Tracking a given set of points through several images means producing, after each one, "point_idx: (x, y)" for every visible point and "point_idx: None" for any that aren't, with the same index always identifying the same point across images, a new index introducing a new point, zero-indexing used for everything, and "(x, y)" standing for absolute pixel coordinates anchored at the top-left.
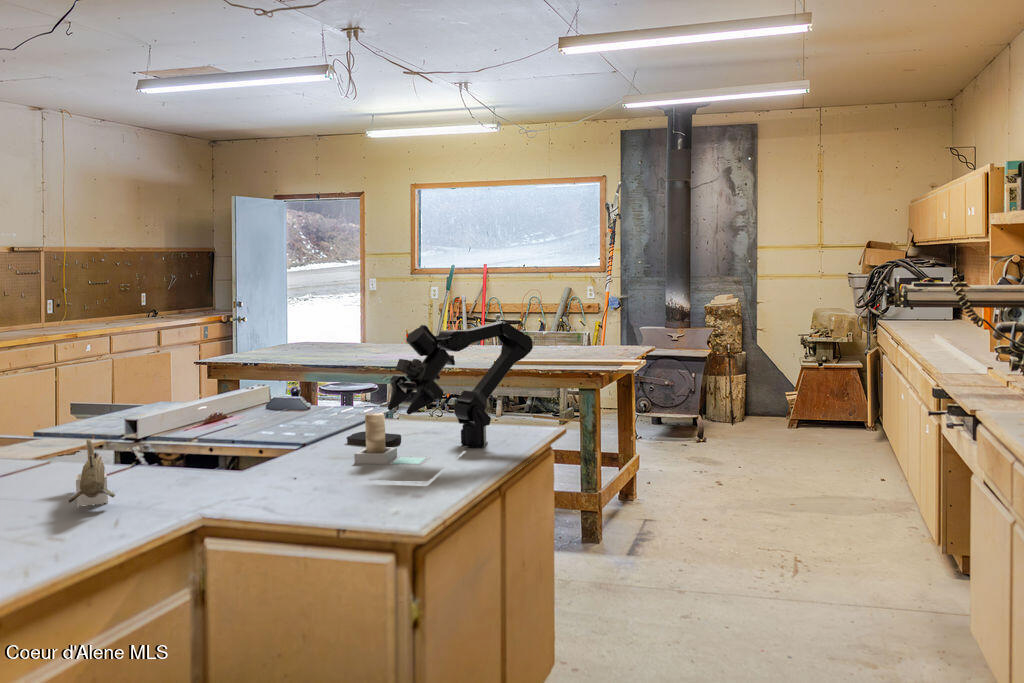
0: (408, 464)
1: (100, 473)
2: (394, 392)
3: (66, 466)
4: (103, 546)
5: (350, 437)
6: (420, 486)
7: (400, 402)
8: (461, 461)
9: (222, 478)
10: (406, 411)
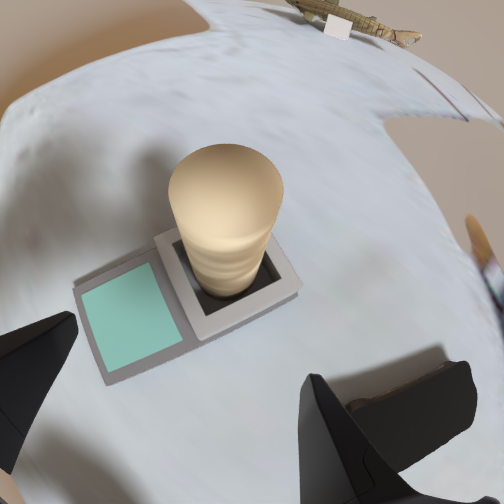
0: (102, 278)
1: (311, 1)
2: (374, 486)
3: (475, 106)
4: (209, 8)
5: (462, 370)
6: (29, 187)
7: (302, 489)
8: (52, 412)
9: (353, 88)
10: (71, 313)
